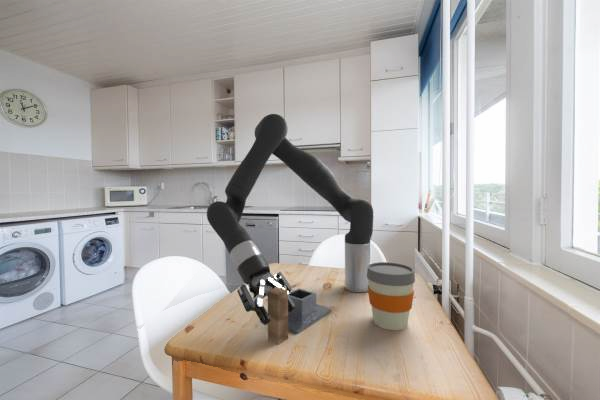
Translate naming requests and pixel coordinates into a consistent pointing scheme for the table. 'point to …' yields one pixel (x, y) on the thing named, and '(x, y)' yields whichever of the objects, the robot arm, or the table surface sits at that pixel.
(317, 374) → the table surface
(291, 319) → the grey square tube bracket
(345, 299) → the table surface
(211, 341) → the table surface
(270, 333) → the brown square block
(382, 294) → the reusable coffee cup
